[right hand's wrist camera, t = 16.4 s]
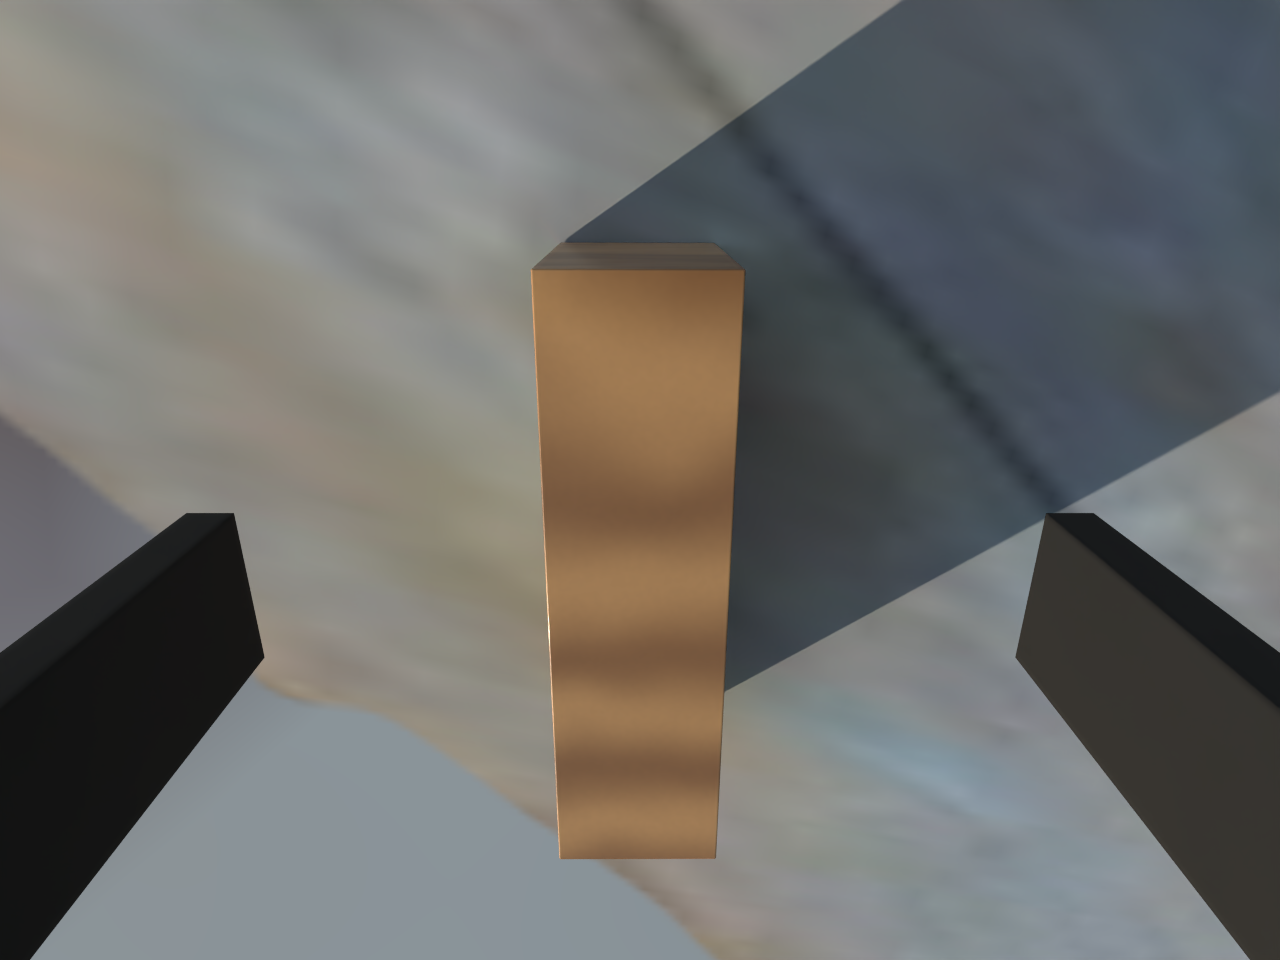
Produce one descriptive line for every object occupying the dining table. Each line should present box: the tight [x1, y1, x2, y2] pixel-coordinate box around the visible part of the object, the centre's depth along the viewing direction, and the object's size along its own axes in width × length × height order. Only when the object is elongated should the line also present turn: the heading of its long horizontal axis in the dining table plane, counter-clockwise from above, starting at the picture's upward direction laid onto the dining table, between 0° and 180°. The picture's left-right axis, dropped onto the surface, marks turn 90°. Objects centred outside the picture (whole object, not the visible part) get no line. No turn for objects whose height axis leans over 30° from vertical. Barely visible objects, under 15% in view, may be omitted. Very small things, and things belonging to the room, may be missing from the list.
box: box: [531, 243, 745, 859], centre depth 30 cm, size 22×6×9 cm, turn 0°
